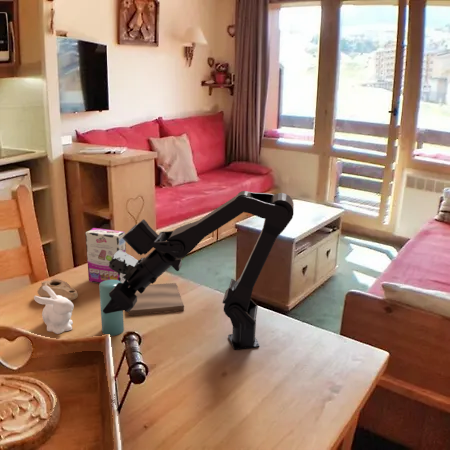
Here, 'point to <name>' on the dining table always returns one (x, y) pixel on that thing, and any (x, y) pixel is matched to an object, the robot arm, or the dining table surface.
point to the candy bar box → (103, 254)
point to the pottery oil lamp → (58, 289)
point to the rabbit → (56, 311)
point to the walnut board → (158, 299)
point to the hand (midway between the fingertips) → (110, 303)
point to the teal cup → (110, 321)
